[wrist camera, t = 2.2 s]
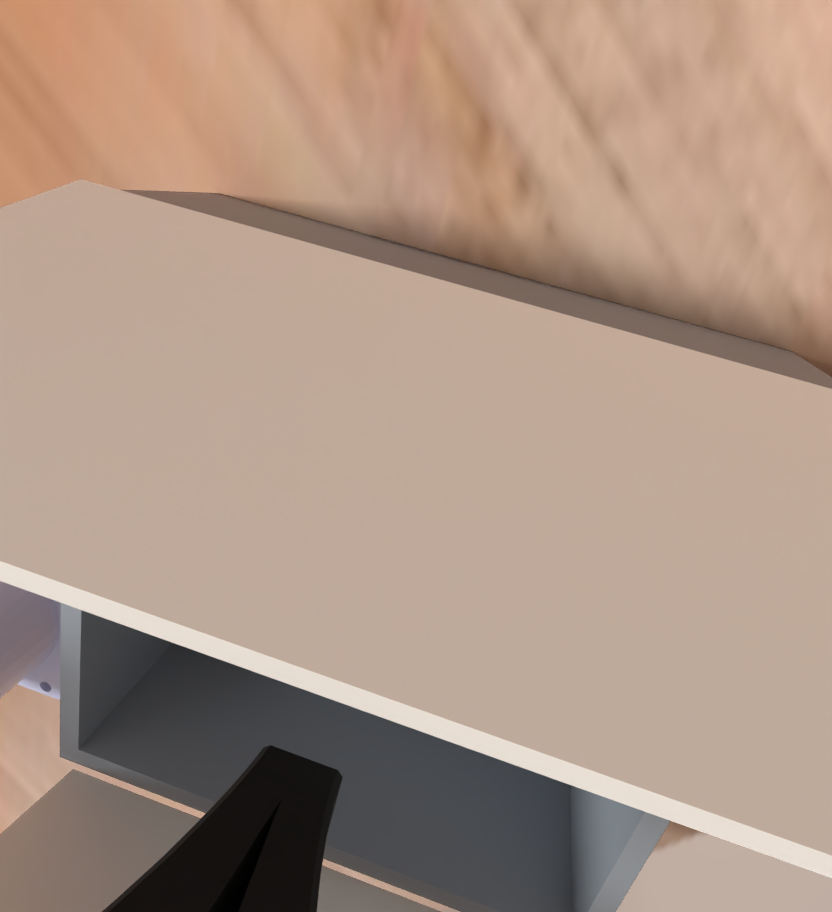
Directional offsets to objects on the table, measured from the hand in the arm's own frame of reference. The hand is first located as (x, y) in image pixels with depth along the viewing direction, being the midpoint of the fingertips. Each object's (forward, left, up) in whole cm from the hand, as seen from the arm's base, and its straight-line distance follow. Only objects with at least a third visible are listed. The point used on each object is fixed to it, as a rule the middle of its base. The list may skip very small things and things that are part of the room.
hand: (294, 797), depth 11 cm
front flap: (0, +7, 0) cm, 7 cm away
